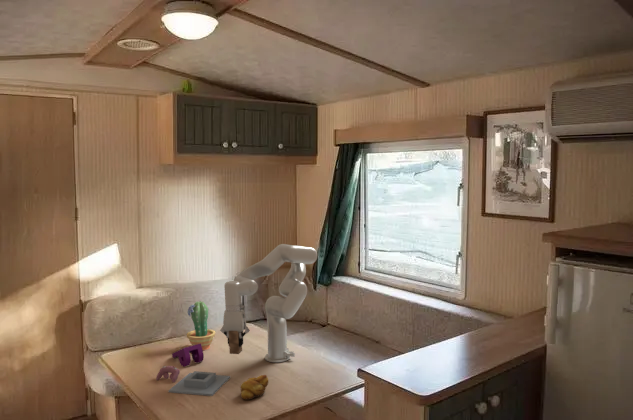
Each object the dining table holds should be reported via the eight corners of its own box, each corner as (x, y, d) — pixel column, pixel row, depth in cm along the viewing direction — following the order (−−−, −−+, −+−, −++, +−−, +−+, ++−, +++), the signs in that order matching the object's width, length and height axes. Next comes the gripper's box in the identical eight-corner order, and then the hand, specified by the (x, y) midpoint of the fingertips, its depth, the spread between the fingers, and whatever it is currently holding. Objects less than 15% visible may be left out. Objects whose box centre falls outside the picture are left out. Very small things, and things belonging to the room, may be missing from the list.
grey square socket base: (230, 377, 234) (230, 369, 233) (212, 396, 214) (211, 387, 214) (189, 374, 238) (189, 366, 238) (168, 392, 218) (168, 383, 218)
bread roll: (249, 403, 207) (249, 384, 206) (232, 397, 213) (232, 378, 212) (271, 393, 217) (270, 374, 216) (254, 387, 223) (254, 369, 222)
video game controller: (178, 383, 232) (182, 367, 234) (173, 382, 228) (176, 366, 230) (160, 380, 235) (163, 365, 237) (154, 379, 231) (158, 363, 233)
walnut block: (242, 350, 243) (241, 328, 242) (238, 354, 239) (237, 331, 238) (233, 350, 244) (232, 327, 243) (229, 353, 240) (228, 330, 239)
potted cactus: (193, 342, 284) (192, 298, 282) (220, 343, 282) (219, 298, 280) (182, 352, 269) (180, 305, 267) (210, 353, 267) (209, 305, 265)
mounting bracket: (172, 371, 257) (187, 365, 245) (168, 355, 260) (183, 347, 247) (189, 367, 264) (205, 360, 251) (185, 350, 266) (200, 343, 253)
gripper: (253, 305, 242) (255, 343, 243) (220, 305, 245) (222, 342, 247) (247, 310, 234) (249, 349, 236) (213, 309, 238) (215, 347, 240)
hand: (235, 345), depth 241 cm, fingers closed on walnut block, 4 cm apart
